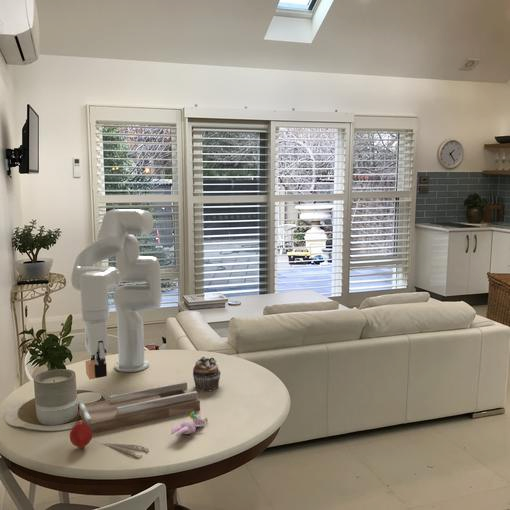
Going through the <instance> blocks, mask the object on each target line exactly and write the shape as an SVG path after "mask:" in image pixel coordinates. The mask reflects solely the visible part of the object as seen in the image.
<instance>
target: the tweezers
mask: <svg viewBox="0 0 510 510" xmlns="http://www.w3.org/2000/svg"><path fill="white" fill-rule="evenodd" d="M100 444H102V445H104V446H108V447H110V448H112V449H113V448H114V449H116V450H119V451H122V452H124V453H127V454H128V455H130V456H133V457H134V458H135V457H136V458H137V459H141V458H143V455H142V454H138V453H136V452H135V451H133V450H136V451H137V450H138V451H144V452H146V453H149V452H150V449H149V447H145V446H142V445H137V444H128V443H127V444H125V443H109V442H108V443H107V442H104V443H100ZM129 449H131V450H129Z"/></svg>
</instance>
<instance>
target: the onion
mask: <svg viewBox="0 0 510 510" xmlns="http://www.w3.org/2000/svg"><path fill="white" fill-rule="evenodd" d="M69 439H70V443H72V445H73V446H75V447H77V448H79V449H84V448H85V447H86V446H87V445H89V443H90V442H91V441H92V439H93V433H92V430H91V428H90V426H89V425H87V424H86V423H84V422H83V421H82V419H80V420H79V421H78V422H77V423H76V424H75V425H74V426H73V427H72V428H71V430H70V432H69Z"/></svg>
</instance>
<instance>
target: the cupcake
mask: <svg viewBox="0 0 510 510" xmlns="http://www.w3.org/2000/svg"><path fill="white" fill-rule="evenodd" d="M192 378H193V381H194V385H195V389H197V391H200V390H203V391H202V392H209V390H212V391H215V390H217V389H218V388H219V384H220V378H221V371H220V369H219V366H218V364H217V360H216V359H215V358H214V357H211V358H206V357H205V356H202V357H201V358H200V359H197V361H195V365H194V367H193V369H192ZM216 388H217V389H216ZM214 389H215V390H214Z"/></svg>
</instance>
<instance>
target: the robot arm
mask: <svg viewBox="0 0 510 510" xmlns="http://www.w3.org/2000/svg"><path fill="white" fill-rule="evenodd" d="M154 223H155V221H154V217H153V214H152V213H151V212H150V211H148V210H145V209H138V208H137V209H136V208H130V209H129V208H121V209H119V208H115V209H110V210H108V211H106V212H105V213H104V215H103V217H102V221H101V224H100V228H99V231H98V235H97V239H96V240H95V241H93V242H92V243H91V244H89V245H87V246H86V247H85V248H84V249H83V250H82V251H80V253H79V254H78V255H77V257H76V259H75V262H74V265H73V268H72V270H71V271H72V272H71V277H70V278H71V279H70V282H71V285H72V287H73V289H75V290H76V291H77V292H80V299H81V302H80V303H81V317H82V322H84V344H85V349H86V350H87V352H88V354H89V355H90V360H94V359H95V362H96V364H95V377H96V378H95V379H100V378H99V377H101V378H104V377H105V376H106V377H107V376H108V372H107V371H108V370H106V367H107V362H106V361H107V360H106V359H107V358H106V355H107V353H109V344H108V343H109V342H108V330H107V329H108V328H107V327H108V326H107V321H108V320H109V319H110V309H109V308H110V305H109V303H110V302H109V293H110V292H113V303H114V308H115V312H116V313H115V315H116V326H117V347H118V349H117V351H118V361H117V362H116V363H115V364H114V369H115V370H116V371H119V372H121V373H123V372H124V373H134V372H140V371H142V370H145V369H147V368H148V367H149V366H150V362H149V360H148V359H145V338H144V337H145V336H144V320H143V318H142V316H141V315H140V314H139V312H138V311H140V312H141V311H142V312H143V311H156V310H159V309H160V307H161V305H162V275H161V274H162V273H161V265H160V261H159V259H158V258H157V257H156V256H150V255H144V256H143V255H141V254H140V243H139V240H138V239H137V237H136V235H137V236H140V235H141V236H144V235H145V236H147V235H150V234H151V233H152V232H153V230H154ZM113 257H115V266H116V267H114V266H109V265H105V266H103V265H102V266H99V265H96V266H95V264H97V263H100V262H103V261H105V260H108V259H111V258H113ZM121 282H125V283H129V282H130V283H131V282H132V283H139V282H140V283H146V284H126V285H121Z"/></svg>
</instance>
